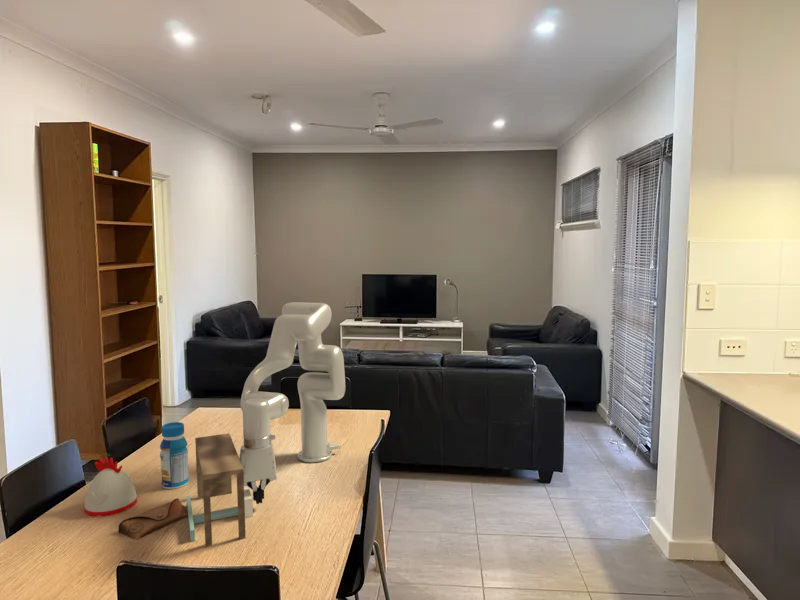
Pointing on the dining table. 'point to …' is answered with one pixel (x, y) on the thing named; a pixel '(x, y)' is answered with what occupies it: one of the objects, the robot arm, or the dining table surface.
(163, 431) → the beverage bottle
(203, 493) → the tunnel
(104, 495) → the kitchen timer
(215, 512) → the mint t-bar
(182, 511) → the sunglasses case
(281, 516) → the dining table surface
